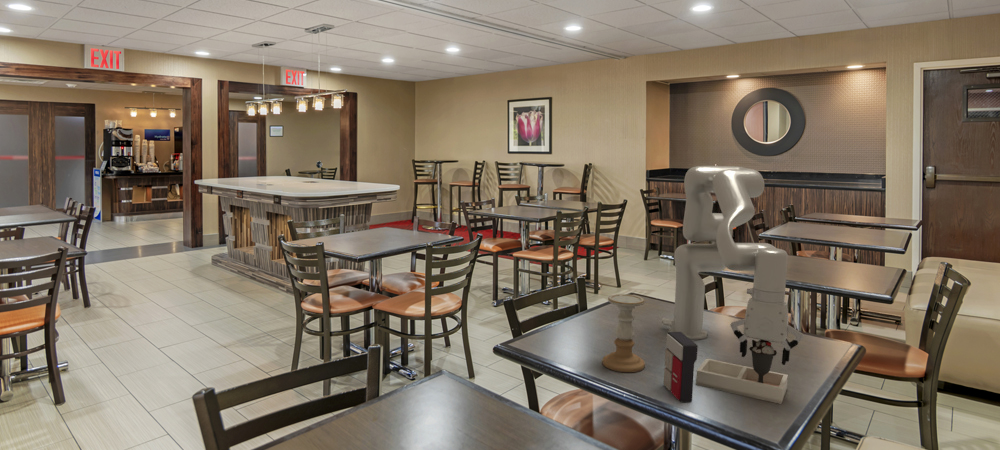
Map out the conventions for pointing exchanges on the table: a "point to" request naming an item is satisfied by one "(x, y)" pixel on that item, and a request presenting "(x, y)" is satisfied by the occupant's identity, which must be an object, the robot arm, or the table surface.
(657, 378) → the table surface
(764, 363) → the sundae
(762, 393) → the carrier tray
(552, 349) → the table surface
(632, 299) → the candle holder
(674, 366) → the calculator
